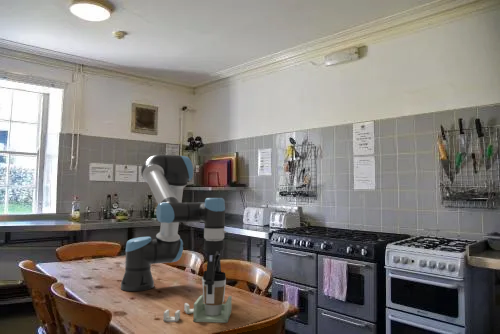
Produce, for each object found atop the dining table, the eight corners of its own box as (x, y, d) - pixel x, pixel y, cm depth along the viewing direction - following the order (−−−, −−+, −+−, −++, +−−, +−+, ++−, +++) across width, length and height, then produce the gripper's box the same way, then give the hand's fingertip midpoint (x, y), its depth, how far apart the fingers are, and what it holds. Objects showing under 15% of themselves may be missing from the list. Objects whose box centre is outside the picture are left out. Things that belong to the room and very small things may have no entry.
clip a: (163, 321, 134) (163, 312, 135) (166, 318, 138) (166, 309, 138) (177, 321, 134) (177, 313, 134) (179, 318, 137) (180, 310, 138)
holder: (193, 321, 134) (193, 304, 135) (200, 311, 146) (200, 295, 147) (227, 322, 133) (227, 305, 134) (231, 312, 145) (231, 296, 146)
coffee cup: (201, 310, 144) (203, 269, 145) (224, 310, 144) (225, 269, 146) (201, 316, 135) (202, 273, 137) (225, 316, 136) (226, 273, 138)
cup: (205, 306, 152) (206, 281, 153) (198, 300, 162) (199, 276, 162) (229, 303, 156) (229, 279, 157) (221, 297, 166) (221, 274, 166)
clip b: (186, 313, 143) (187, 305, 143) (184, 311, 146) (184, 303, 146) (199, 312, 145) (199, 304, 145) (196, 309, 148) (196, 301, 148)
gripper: (219, 244, 129) (218, 308, 128) (228, 235, 154) (227, 289, 152) (197, 243, 130) (196, 307, 128) (210, 235, 154) (209, 289, 153)
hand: (213, 298), depth 140 cm, fingers open, 13 cm apart
